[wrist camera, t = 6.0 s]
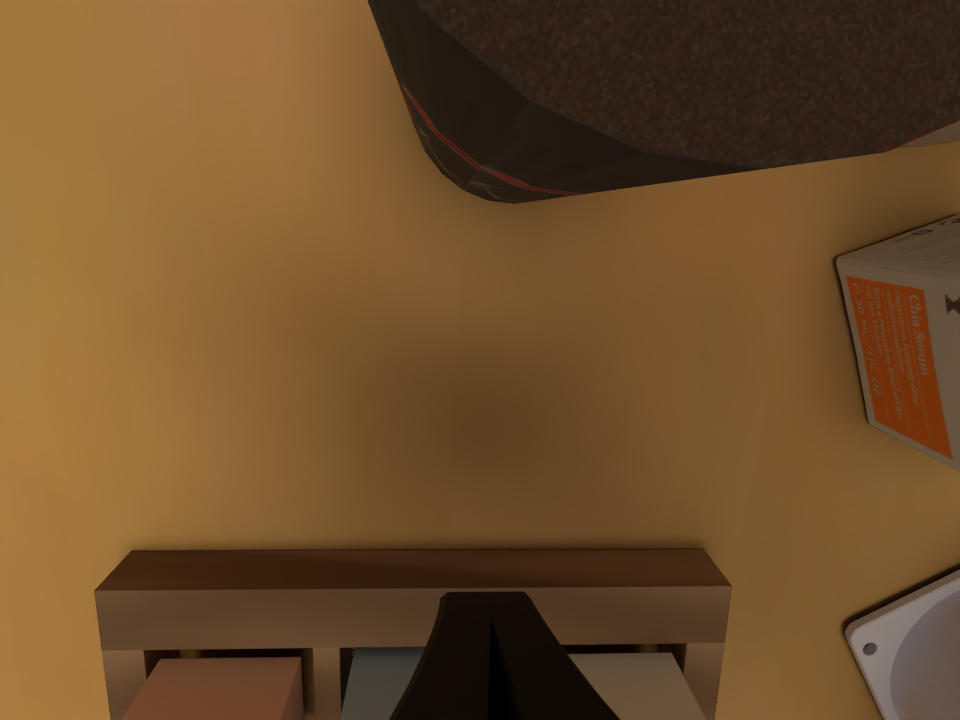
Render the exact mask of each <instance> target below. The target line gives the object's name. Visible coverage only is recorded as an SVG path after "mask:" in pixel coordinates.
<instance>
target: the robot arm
mask: <svg viewBox="0 0 960 720" xmlns="http://www.w3.org/2000/svg"><path fill="white" fill-rule="evenodd" d="M845 636H846V639H847V642H848V644H849V646H850V648H851V650H852V652H853V655H854V657H855V659H856V661H857V663H858V665H859V668H860V670H861V672H862V674H863V676H864V678H865V681H866V683H867V685H868V687H869V689H870V692H871V694H872V696H873V698H874V700H875V702H876V705H877V707H878V709H879V711H880V713H881V715H882V718H883V720H960V570H958V571H956V572H954V573H952V574H950V575H947V576H945V577H943V578H941V579H939V580H937V581H935V582H933V583H931V584H929V585H927V586H925V587H923V588H921V589H919V590H917V591H915V592H913V593H911V594H909V595H907V596H905V597H903V598H900V599H898V600H896V601H894V602H892V603H890V604H888V605H886V606H884V607H882V608H880V609H878V610H876V611H874V612H872V613H870V614H868V615H866V616H864V617H862V618H860V619H858V620H856V621H854V622H852V623H851V624H849V626H848V627H847V629H846V632H845ZM867 643H869V645H867V646H866V647H864V646H865V645H866V644H867ZM389 720H620V718H619V717H618V716H617V715H616V714H615V713H614V712H613V710H612V709H611V708H610V707H609V706H608V705H607V703H606V702H605V701H604V700H603V699H602V697H601V696H600V695H599V694H598V693H597V691H596V690H595V689H594V688H593V686H592V685H591V684H590V683H589V681H588V680H587V679H586V677H585V676H584V675H583V673H582V672H581V671H580V670H579V668H578V667H577V666H576V664H575V663H574V662H573V661H572V659H571V658H570V657H569V655H568V654H567V652H566V651H565V650H564V648H563V647H562V645H561V644H560V643H559V641H558V640H557V638H556V637H555V635H554V634H553V632H552V631H551V630H550V628H549V627H548V625H547V624H546V622H545V621H544V619H543V617H542V616H541V614H540V613H539V611H538V609H537V608H536V606H535V605H534V603H533V601H532V599H531V598H530V597H529V596H528V595H527V594H526V593H525V592H524V591H510V592H447V593H446V594H445V595H444V596H442V597H441V598H440V604H439V609H438V613H437V617H436V620H435V623H434V626H433V629H432V632H431V635H430V637H429V640H428V642H427V645H426V647H425V650H424V652H423V654H422V656H421V658H420V660H419V663H418V665H417V667H416V669H415V671H414V673H413V676H412V678H411V680H410V682H409V684H408V686H407V688H406V690H405V692H404V693H403V695H402V697H401V699H400V701H399V702H398V704H397V706H396V708H395V710H394V711H393V713H392V715H391V717H390V719H389Z"/></svg>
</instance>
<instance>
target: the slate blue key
mask: <svg viewBox="0 0 960 720" xmlns="http://www.w3.org/2000/svg"><path fill="white" fill-rule="evenodd" d="M424 650H425V647H355V651H354V656H353V661H352V665H351V670H350V675H349V680H348V684H347V689H346V694H345V699H344V703H343V708H342V713H341V718H340V720H389V719H390V717H391V715H392V713H393V711H394V710H395V708H396V706H397V704H398V702H399V701H400V699H401V697H402V695H403V693H404V692H405V690H406V688H407V686H408V684H409V682H410V680H411V678H412V676H413V673H414V671H415V669H416V667H417V665H418V663H419V660H420V658H421V656H422V654H423V652H424Z"/></svg>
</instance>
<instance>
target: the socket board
mask: <svg viewBox="0 0 960 720" xmlns="http://www.w3.org/2000/svg"><path fill="white" fill-rule="evenodd" d="M731 589H732V586H731V584H730V583H729V582H728V581H727V579H726V578H725V577H724V575H723V574H722V573H721V571H720V570H719V569H718V567H717V566H716V565H715V564H714V562H713V561H712V560H711V558H710V557H709V556H708V554H707V553H706V552H705V550H704V549H565V550H296V551H131V552H130V553H129V554H128V555H127V556H126V557H125V558H124V559H123V560H122V561H121V563H120V564H119V565H118V566H117V567H116V568H115V569H114V570H113V571H112V572H111V573H110V574H109V575H108V576H107V578H106V579H105V580H104V581H103V582H102V583H101V584H100V585H99V586H98V587H97V588H96V589H95V590H94V594H95V601H96V609H97V617H98V625H99V633H100V640H101V648H102V656H103V664H104V672H105V680H106V687H107V695H108V703H109V711H110V719H111V720H121V719H122V718H123V716H124V715H125V713H126V711H127V710H128V708H129V707H130V705H131V704H132V702H133V700H134V699H135V697H136V696H137V694H138V693H139V691H140V690H141V688H142V686H143V685H144V683H145V682H146V680H147V679H148V677H149V676H150V674H151V672H152V671H153V669H154V668H155V666H156V665H157V663H158V662H159V660H160V659H179V650H187V649H267V648H313V669H314V694H315V719H316V720H340V718H341V713H342V708H343V703H344V699H345V694H346V689H347V684H348V680H349V675H350V670H351V665H352V661H351V647H426V645H427V642H428V640H429V637H430V635H431V632H432V629H433V626H434V623H435V620H436V617H437V613H438V609H439V604H440V598H441V597H442V596H444V595H445V594H446V593H447V592H510V591H524V592H525V593H526V594H527V595H528V596H529V597H530V598H531V599H532V601H533V603H534V605H535V606H536V608H537V609H538V611H539V613H540V614H541V616H542V617H543V619H544V621H545V622H546V624H547V625H548V627H549V628H550V630H551V631H552V632H553V634H554V635H555V637H556V638H557V640H558V641H559V643H560V644H561V645H591V644H659V650H658V653H672V654H673V656H674V658H675V660H676V662H677V664H678V666H679V668H680V670H681V672H682V674H683V676H684V678H685V680H686V682H687V684H688V686H689V688H690V690H691V691H692V693H693V695H694V697H695V699H696V701H697V703H698V705H699V707H700V709H701V711H702V713H703V715H704V717H705V719H706V720H714V719H715V711H716V703H717V696H718V688H719V681H720V673H721V665H722V658H723V650H724V642H725V635H726V627H727V620H728V612H729V604H730V597H731Z"/></svg>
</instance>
